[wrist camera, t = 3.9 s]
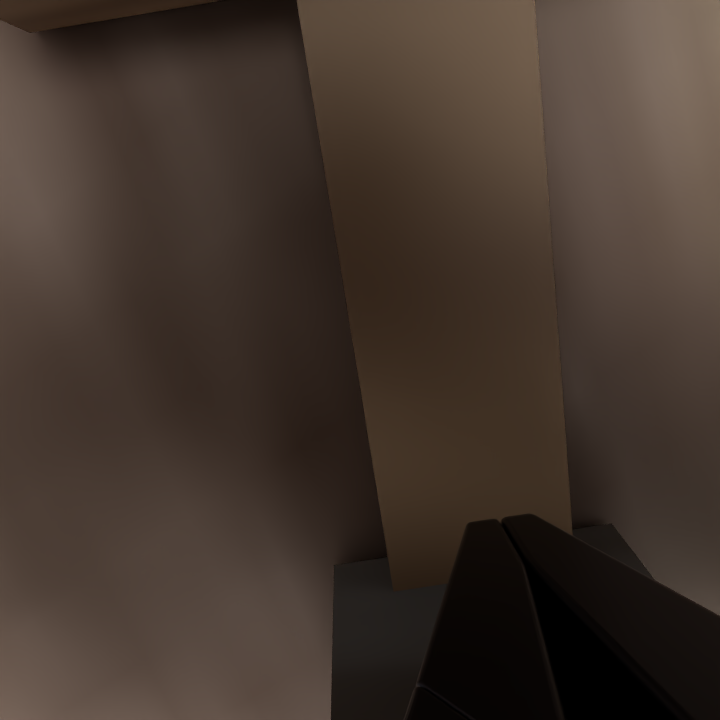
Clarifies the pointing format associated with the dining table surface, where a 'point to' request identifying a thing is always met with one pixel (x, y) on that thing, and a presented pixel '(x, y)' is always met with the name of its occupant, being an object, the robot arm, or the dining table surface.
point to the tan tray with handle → (428, 296)
